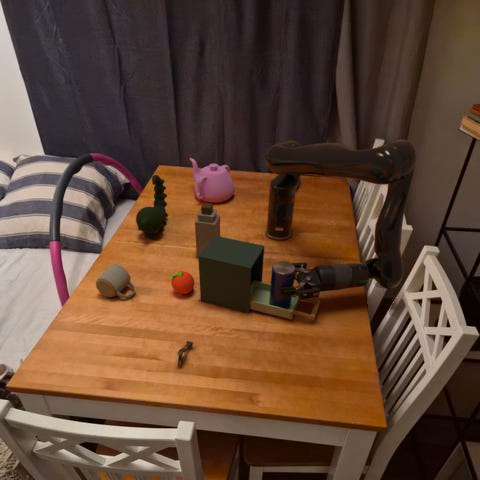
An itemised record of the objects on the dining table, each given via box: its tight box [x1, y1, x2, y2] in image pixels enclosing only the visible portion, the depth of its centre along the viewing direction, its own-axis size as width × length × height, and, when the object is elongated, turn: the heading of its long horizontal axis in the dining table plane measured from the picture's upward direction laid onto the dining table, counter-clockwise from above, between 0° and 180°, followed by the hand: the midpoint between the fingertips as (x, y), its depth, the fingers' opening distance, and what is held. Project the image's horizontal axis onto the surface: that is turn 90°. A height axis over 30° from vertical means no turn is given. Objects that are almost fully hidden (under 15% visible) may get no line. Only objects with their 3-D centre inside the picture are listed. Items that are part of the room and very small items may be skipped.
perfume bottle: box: [194, 202, 221, 259], centre depth 135 cm, size 7×7×18 cm
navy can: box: [269, 260, 295, 309], centre depth 115 cm, size 6×6×13 cm
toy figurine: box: [135, 174, 169, 240], centre depth 147 cm, size 9×19×25 cm
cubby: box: [197, 235, 265, 314], centre depth 119 cm, size 15×12×16 cm
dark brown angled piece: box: [176, 340, 194, 367], centre depth 103 cm, size 2×8×4 cm, turn 165°
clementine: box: [167, 270, 195, 295], centre depth 122 cm, size 8×7×7 cm
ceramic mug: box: [95, 263, 136, 299], centre depth 121 cm, size 11×8×8 cm
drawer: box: [250, 280, 321, 321], centre depth 118 cm, size 21×10×3 cm, turn 70°
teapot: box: [189, 157, 235, 204], centre depth 171 cm, size 22×22×14 cm
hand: (277, 282), depth 114 cm, fingers open, 8 cm apart
